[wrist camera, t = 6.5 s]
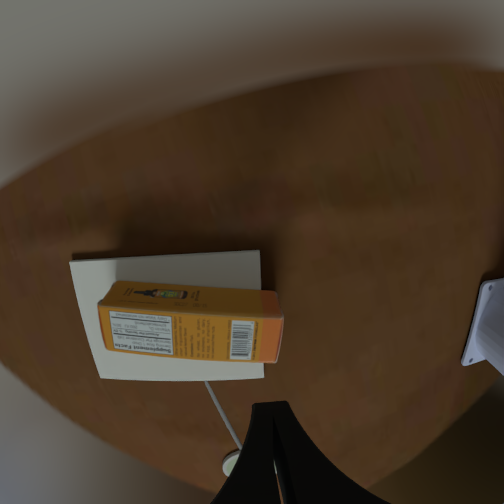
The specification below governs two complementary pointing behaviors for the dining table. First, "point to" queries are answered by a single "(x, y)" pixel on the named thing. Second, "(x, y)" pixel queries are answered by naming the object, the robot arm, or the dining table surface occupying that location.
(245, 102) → the dining table surface
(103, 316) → the supplement box
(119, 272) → the mat
